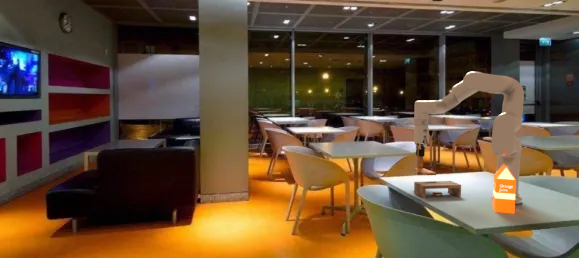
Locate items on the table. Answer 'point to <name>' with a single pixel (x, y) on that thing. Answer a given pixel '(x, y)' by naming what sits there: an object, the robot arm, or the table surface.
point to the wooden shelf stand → (437, 187)
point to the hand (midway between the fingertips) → (420, 155)
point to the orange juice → (504, 191)
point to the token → (436, 193)
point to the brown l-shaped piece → (420, 165)
